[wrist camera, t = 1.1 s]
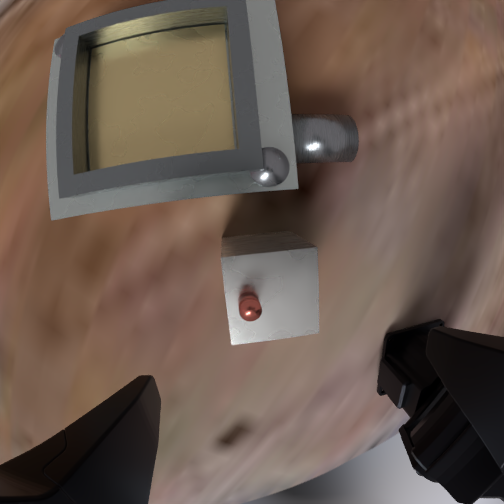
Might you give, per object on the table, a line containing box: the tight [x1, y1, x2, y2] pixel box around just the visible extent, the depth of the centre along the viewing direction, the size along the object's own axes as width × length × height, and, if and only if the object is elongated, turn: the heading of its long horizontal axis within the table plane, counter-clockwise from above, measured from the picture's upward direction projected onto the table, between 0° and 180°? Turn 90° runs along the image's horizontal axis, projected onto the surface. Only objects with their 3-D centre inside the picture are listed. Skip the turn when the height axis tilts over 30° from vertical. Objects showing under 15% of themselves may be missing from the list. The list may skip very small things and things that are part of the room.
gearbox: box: [46, 0, 359, 220], centre depth 14 cm, size 18×12×6 cm, turn 95°
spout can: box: [221, 231, 319, 345], centre depth 16 cm, size 4×4×7 cm
